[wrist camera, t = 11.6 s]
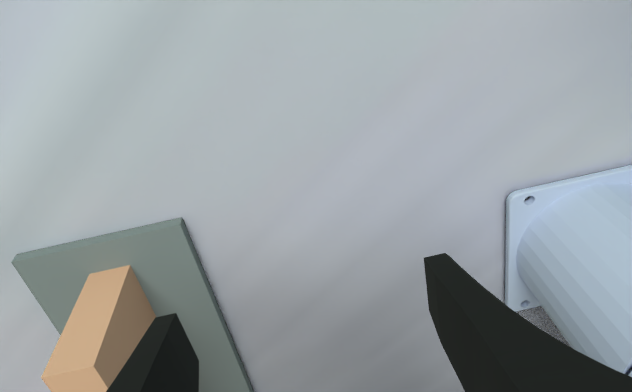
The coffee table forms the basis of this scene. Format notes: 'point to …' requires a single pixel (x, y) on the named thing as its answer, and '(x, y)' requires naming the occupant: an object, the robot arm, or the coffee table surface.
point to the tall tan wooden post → (99, 333)
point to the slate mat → (157, 283)
